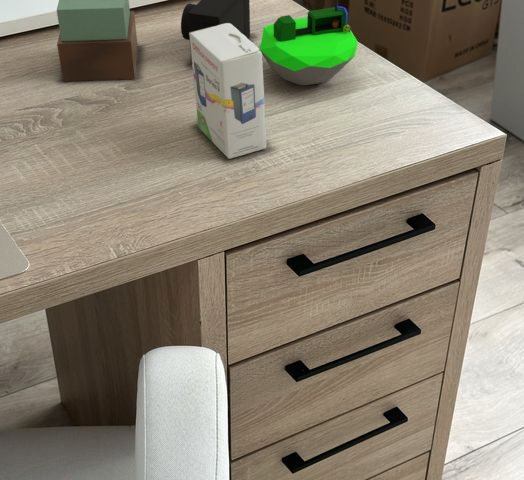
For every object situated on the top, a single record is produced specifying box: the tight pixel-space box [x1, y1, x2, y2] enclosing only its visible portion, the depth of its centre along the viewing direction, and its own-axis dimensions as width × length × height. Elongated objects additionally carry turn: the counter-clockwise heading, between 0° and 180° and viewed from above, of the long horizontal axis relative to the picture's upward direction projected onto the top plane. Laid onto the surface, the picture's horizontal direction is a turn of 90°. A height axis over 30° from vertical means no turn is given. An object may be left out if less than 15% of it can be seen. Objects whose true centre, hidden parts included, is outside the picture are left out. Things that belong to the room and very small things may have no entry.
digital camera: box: [180, 0, 251, 65], centre depth 123 cm, size 10×5×7 cm, turn 160°
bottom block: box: [56, 10, 139, 82], centre depth 121 cm, size 9×9×5 cm
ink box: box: [189, 23, 267, 160], centre depth 105 cm, size 9×5×12 cm, turn 27°
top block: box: [56, 0, 131, 41], centre depth 118 cm, size 8×8×4 cm
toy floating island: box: [259, 0, 359, 86], centre depth 116 cm, size 12×12×11 cm
